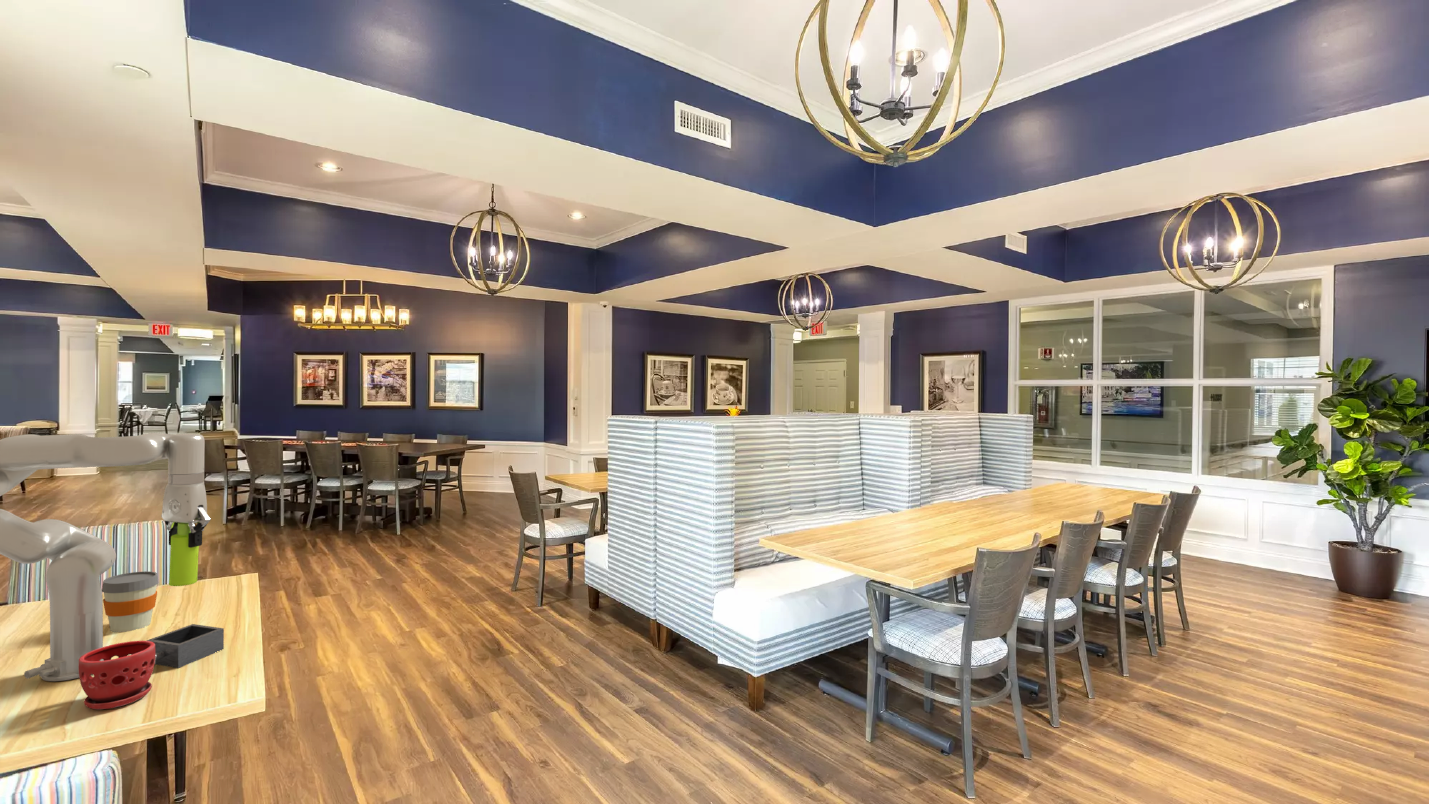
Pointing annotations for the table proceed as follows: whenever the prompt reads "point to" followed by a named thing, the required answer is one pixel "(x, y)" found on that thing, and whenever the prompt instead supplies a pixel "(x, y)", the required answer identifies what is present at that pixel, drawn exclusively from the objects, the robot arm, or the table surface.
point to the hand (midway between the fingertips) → (185, 544)
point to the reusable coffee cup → (130, 600)
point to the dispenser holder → (187, 645)
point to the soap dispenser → (183, 558)
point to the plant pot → (117, 674)
